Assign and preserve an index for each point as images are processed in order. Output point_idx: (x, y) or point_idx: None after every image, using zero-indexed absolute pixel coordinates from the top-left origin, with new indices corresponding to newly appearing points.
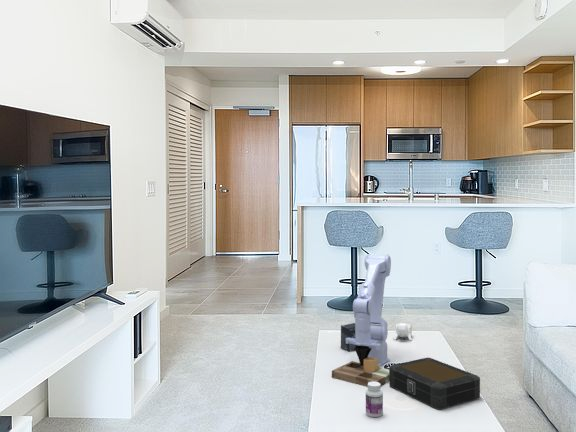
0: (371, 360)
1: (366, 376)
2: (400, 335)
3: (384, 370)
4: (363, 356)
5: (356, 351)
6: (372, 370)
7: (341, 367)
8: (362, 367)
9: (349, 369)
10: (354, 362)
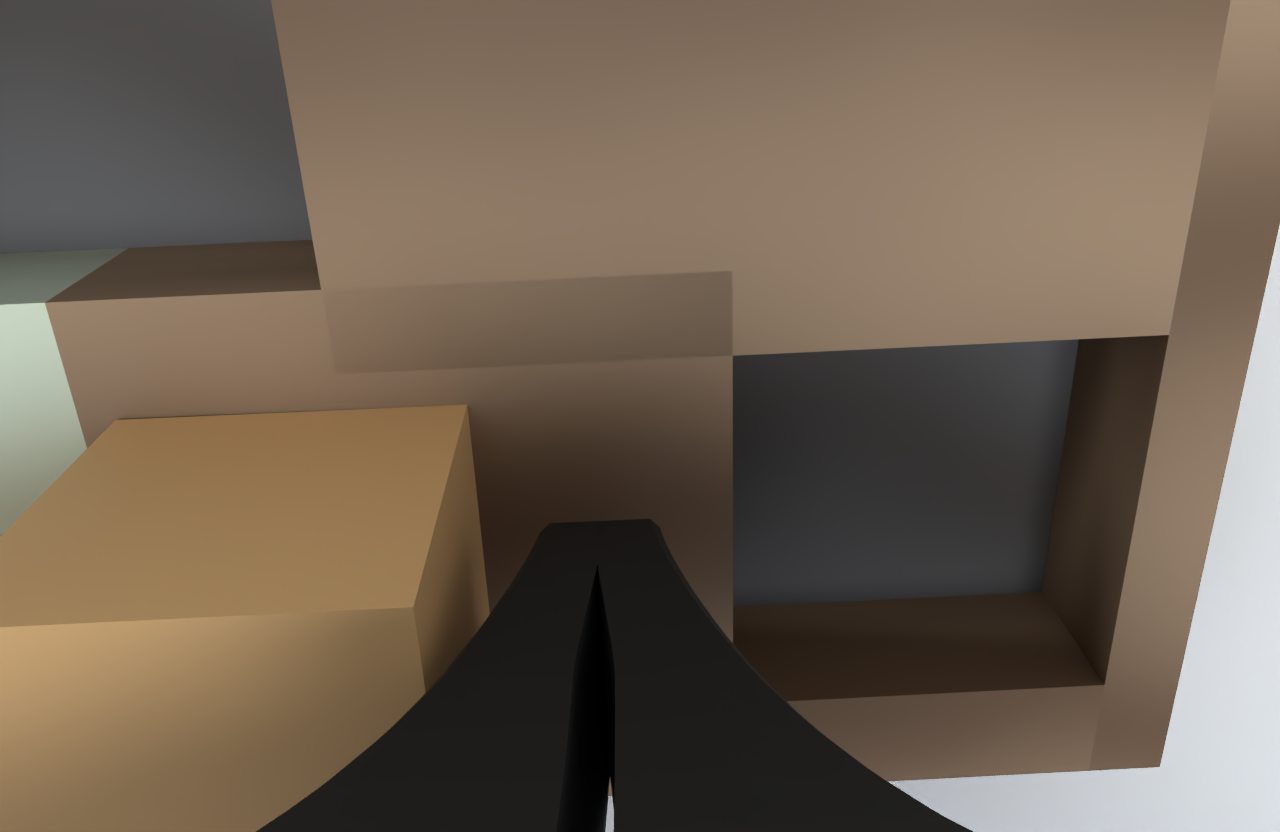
0: (54, 694)
1: (302, 250)
2: None
3: None
4: (419, 718)
5: (851, 810)
6: (113, 440)
7: (1218, 129)
8: None
9: (871, 138)
10: (1049, 726)
